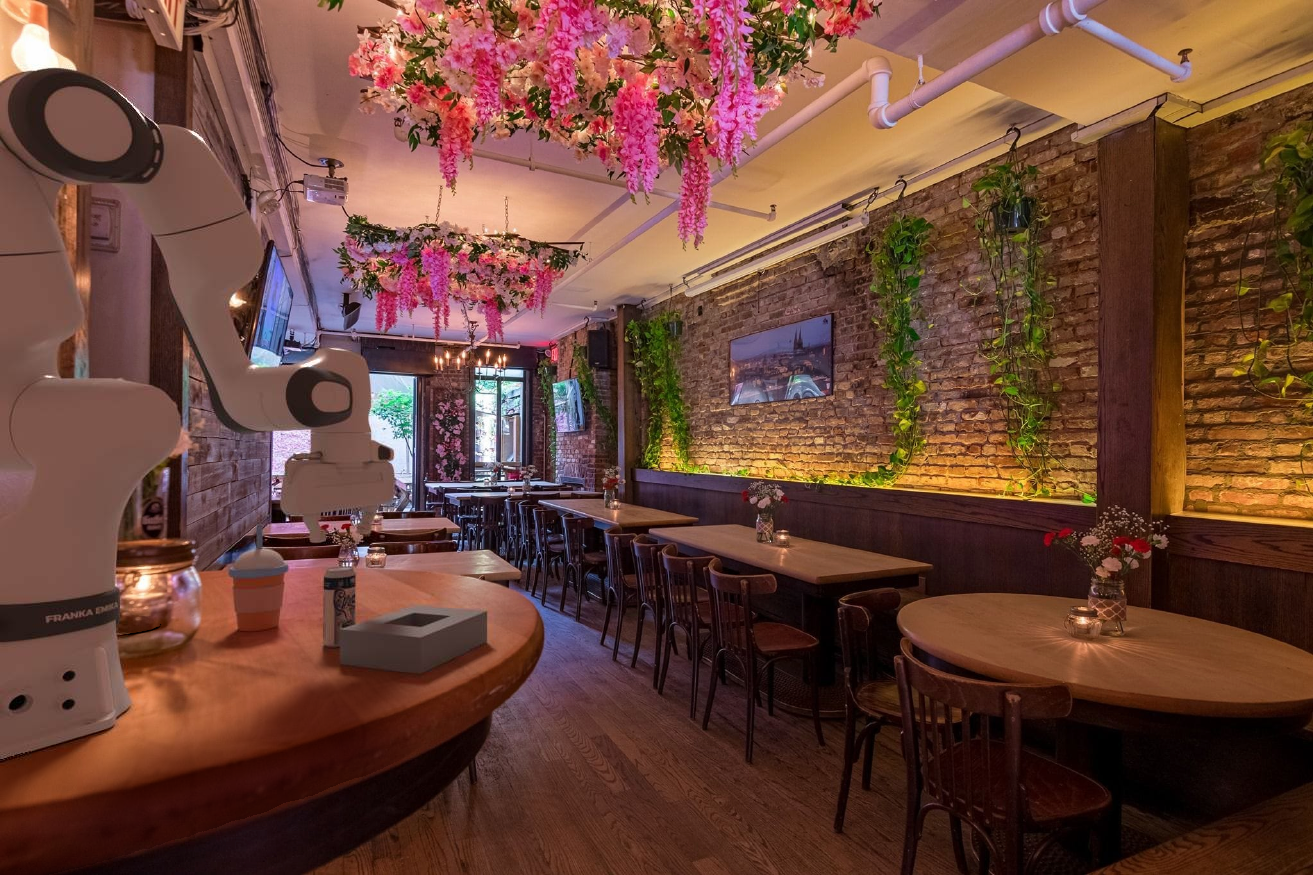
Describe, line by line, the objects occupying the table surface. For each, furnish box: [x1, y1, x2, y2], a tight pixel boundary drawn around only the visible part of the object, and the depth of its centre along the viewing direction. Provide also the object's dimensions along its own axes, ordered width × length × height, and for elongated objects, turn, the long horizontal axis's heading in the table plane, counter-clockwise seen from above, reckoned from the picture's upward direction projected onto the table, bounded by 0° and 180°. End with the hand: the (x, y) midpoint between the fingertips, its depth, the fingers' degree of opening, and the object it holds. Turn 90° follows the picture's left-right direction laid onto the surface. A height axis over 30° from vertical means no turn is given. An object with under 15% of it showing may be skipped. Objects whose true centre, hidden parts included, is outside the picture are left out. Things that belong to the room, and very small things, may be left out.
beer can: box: [322, 566, 357, 649], centre depth 104 cm, size 5×5×12 cm
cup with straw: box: [227, 523, 289, 632], centre depth 115 cm, size 9×9×18 cm
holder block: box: [339, 604, 488, 675], centre depth 99 cm, size 16×14×5 cm
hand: (342, 537), depth 105 cm, fingers open, 8 cm apart
